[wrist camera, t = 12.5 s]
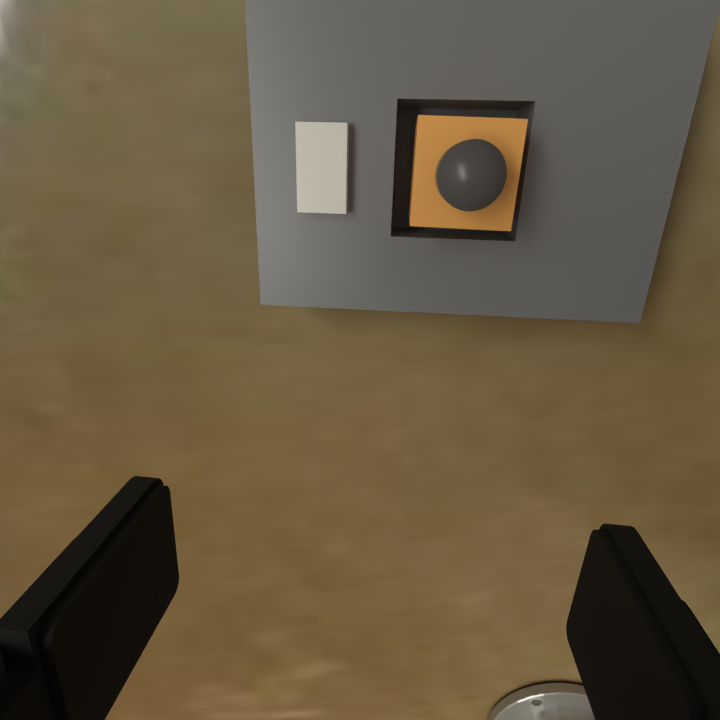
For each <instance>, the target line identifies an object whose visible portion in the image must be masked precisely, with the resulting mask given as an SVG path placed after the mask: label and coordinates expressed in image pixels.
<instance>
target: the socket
mask: <svg viewBox="0 0 720 720" xmlns="http://www.w3.org/2000/svg"><path fill="white" fill-rule="evenodd" d="M719 9H720V0H245V13H246V32H247V51H248V70H249V90H250V109H251V128H252V147H253V166H254V185H255V204H256V223H257V243H258V262H259V281H260V300H261V305H276V306H296V307H317V308H337V309H358V310H378V311H399V312H419V313H440V314H460V315H481V316H501V317H522V318H542V319H563V320H583V321H604V322H624V323H640V322H641V318H642V314H643V310H644V306H645V302H646V298H647V294H648V290H649V286H650V282H651V278H652V274H653V270H654V266H655V263H656V259H657V255H658V251H659V247H660V243H661V239H662V235H663V231H664V227H665V223H666V219H667V215H668V211H669V207H670V203H671V199H672V195H673V191H674V187H675V183H676V179H677V175H678V171H679V167H680V163H681V159H682V155H683V152H684V148H685V144H686V140H687V136H688V132H689V128H690V124H691V120H692V116H693V112H694V108H695V104H696V100H697V96H698V92H699V88H700V84H701V80H702V76H703V72H704V68H705V64H706V60H707V56H708V52H709V48H710V44H711V41H712V37H713V33H714V29H715V25H716V21H717V17H718V13H719ZM418 115H435V116H462V117H489V118H516V119H528V123H527V130H526V136H525V143H524V149H523V156H522V162H521V169H520V176H519V182H518V189H517V195H516V202H515V208H514V215H513V221H512V228H511V231H496V230H476V229H457V228H438V227H418V226H410V223H409V201H410V188H411V174H412V161H413V148H414V134H415V125H416V121H417V118H418Z"/></svg>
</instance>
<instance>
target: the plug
mask: <svg viewBox="0 0 720 720" xmlns="http://www.w3.org/2000/svg"><path fill="white" fill-rule="evenodd" d="M527 123H528V119H516V118H489V117H462V116H435V115H418V118H417V121H416V125H415V134H414V148H413V161H412V174H411V188H410V201H409V223H410V226H418V227H438V228H457V229H476V230H496V231H511V228H512V221H513V215H514V208H515V202H516V195H517V189H518V182H519V176H520V169H521V162H522V156H523V149H524V143H525V136H526V130H527Z"/></svg>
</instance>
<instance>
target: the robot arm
mask: <svg viewBox="0 0 720 720" xmlns="http://www.w3.org/2000/svg"><path fill="white" fill-rule="evenodd" d="M178 582H179V572H178V563H177V553H176V544H175V535H174V525H173V516H172V506H171V497H170V490H169V487H168V486H163V482H162V480H161V479H159V478H150V477H140V476H135V477H132V478H131V479H130V480H129V481H128V482H127V483H126V484H125V485H124V486H123V488H122V489H121V490H120V491H119V492H118V493H117V494H116V495H115V496H114V497H113V498H112V499H111V501H110V502H109V503H108V504H107V505H106V506H105V507H104V508H103V509H102V510H101V511H100V512H99V514H98V515H97V516H96V517H95V518H94V519H93V520H92V521H91V522H90V523H89V524H88V526H87V527H86V528H85V529H84V530H83V531H82V532H81V533H80V534H79V535H78V536H77V537H76V538H75V539H74V540H73V541H72V542H71V543H70V544H69V545H68V546H67V547H66V548H65V549H64V551H63V552H62V553H61V554H60V555H59V556H58V557H57V558H56V559H55V560H54V561H53V562H52V563H51V565H50V566H49V567H48V568H47V569H46V570H45V571H44V572H43V573H42V574H41V575H40V576H39V578H38V579H37V580H36V581H35V582H34V583H33V584H32V585H31V586H30V587H29V588H28V589H27V591H26V592H25V593H24V594H23V595H22V596H21V597H20V598H19V599H18V600H17V601H16V602H15V604H14V605H13V606H12V607H11V608H10V609H9V610H8V611H7V612H6V613H5V614H4V615H3V617H2V618H1V619H0V720H105V718H106V716H107V715H108V713H109V711H110V709H111V707H112V706H113V704H114V702H115V700H116V699H117V697H118V695H119V693H120V691H121V690H122V688H123V686H124V684H125V682H126V681H127V679H128V677H129V675H130V674H131V672H132V670H133V668H134V666H135V665H136V663H137V661H138V659H139V658H140V656H141V654H142V652H143V650H144V649H145V647H146V645H147V643H148V641H149V640H150V638H151V636H152V634H153V633H154V631H155V629H156V627H157V625H158V624H159V622H160V620H161V618H162V616H163V615H164V613H165V611H166V609H167V608H168V606H169V604H170V602H171V600H172V599H173V597H174V595H175V593H176V590H177V587H178ZM566 630H567V638H568V642H569V645H570V648H571V651H572V654H573V657H574V660H575V662H576V665H577V668H578V671H579V674H580V677H581V680H582V683H583V686H582V685H578V684H570V683H545V684H538V685H533V686H530V687H526V688H523V689H520V690H518V691H516V692H514V693H512V694H510V695H508V696H507V697H505V698H504V699H502V700H501V701H500V702H499V703H498V704H497V705H496V706H495V707H494V708H493V709H492V711H491V713H490V715H489V716H488V719H487V720H720V654H719V652H718V651H717V649H716V648H715V646H714V645H713V643H712V642H711V640H710V638H709V637H708V635H707V634H706V632H705V631H704V629H703V628H702V626H701V625H700V623H699V622H698V620H697V618H696V617H695V615H694V614H693V612H692V611H691V609H690V608H689V607H688V605H687V604H686V603H685V602H684V601H683V600H681V599H680V597H679V596H678V594H677V593H676V591H675V589H674V588H673V586H672V585H671V583H670V582H669V580H668V579H667V577H666V575H665V574H664V572H663V571H662V569H661V568H660V566H659V565H658V563H657V561H656V560H655V558H654V557H653V555H652V554H651V552H650V550H649V549H648V547H647V546H646V544H645V543H644V541H643V540H642V538H641V536H640V535H639V533H638V532H637V530H636V529H635V528H634V527H632V526H623V525H614V524H602V526H601V527H600V529H599V530H593V531H592V533H591V535H590V539H589V543H588V546H587V550H586V554H585V557H584V561H583V565H582V568H581V572H580V576H579V579H578V583H577V587H576V590H575V594H574V598H573V601H572V605H571V609H570V612H569V616H568V620H567V627H566Z"/></svg>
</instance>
